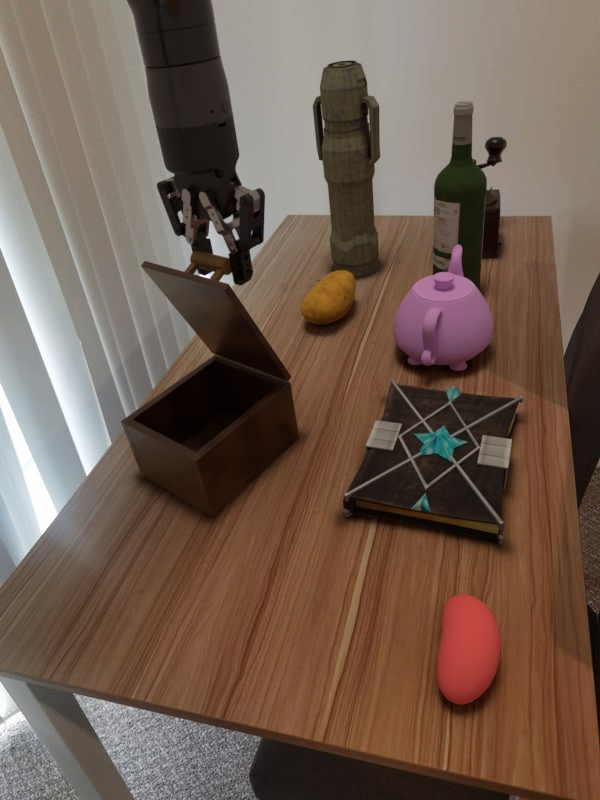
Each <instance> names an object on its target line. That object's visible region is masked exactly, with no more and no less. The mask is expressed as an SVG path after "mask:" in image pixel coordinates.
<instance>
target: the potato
mask: <svg viewBox="0 0 600 800" xmlns="http://www.w3.org/2000/svg"><path fill="white" fill-rule="evenodd" d="M356 291H357V284H356V278H354V276H353V274H352V273H350V272H348V271H346V270H338V271H332V272H329V273H327V274H326V275H325V276H324V277H323V278H322V279H321V280H319V282H317V283H316V284H315V285H314V286H313V287H312V288H311V290H310V291H309V292H308V293H307V294H306V295H305V297H304V299H303V300H302V302H301V305H300V310H299V311H300V313H301V315H302V317H303V318H304V319H305V320H306V321H308V322H310V323H313V324H316V325H328V324H331V323H333V322H336V321H339V320H340V319H342V318H343V317H345V316H346V314H348V313H349V312H350V310H351V308H352V306H353V303H354V300H355V296H356Z"/></svg>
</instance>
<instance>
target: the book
mask: <svg viewBox="0 0 600 800" xmlns="http://www.w3.org/2000/svg"><path fill="white" fill-rule="evenodd" d="M523 402H524V396H522V395H520V396H518V397H506V396H494V395H485V394H483V395H482V394H477V393H476V394H474V393H467V392H461V391H460V389H459V388H457V387H456V386H455V385H452V386H451V387H449V388H447V389H446V390H444V389H436V388H435V389H434V388H427V387H422V386H415V385H409V384H403V383H397V382H395V380H394V379H390V385H389V386H388V392H387V396H386V401H385V404H384V410H383V414H382V417H381V419H380V420H378V419H376V420H375V421H374V424H373V426H372V429H371V431H370V433H369V436H368V439H367V441H366V443H365V455H364V458H363V460H362V463H361V464H360V466H359V468H358V470H357V471H356V473H355V475H354V478H353V479H352V481H351V483H350V485H349V487H348V489H347V491H346V492H345V493H344V494H343V499H342V506H343V509H344V510H343V514H344V517H345V518H346V519H347V518H349V517H350V516H352V515H354V516H361V517H366V518H367V517H368V518H372V519H373V518H374V519H380V520H387V521H392V522H393V521H394V522H399V523H404V524H409V525H410V524H411V525H415V526H419V527H425V528H431V529H435V530H440V531H445V532H450V533H451V532H452V533H457V534H460V535H466V536H470V537H475V538H480V539H484V540H489V541H493V542H497V543H498V544H499V546H501V545H503V544H504V539H505V538H504V536H503V535H502V534H501V530H503V529H504V524H505V522H504V521H503V518H504V516H503V515H504V512H503V511H504V492H506V488H507V483H508V482H507V481H508V475H509V473H508V472H509V467H510V461H511V460H510V459H511V452H512V444H513V439H512V438H511V437H512V434H513V432H514V428H515V425H516V422H517V420H518V419H519V418H520V413H519V412H518V411H517V409H518V406H519V403H520V404H523Z"/></svg>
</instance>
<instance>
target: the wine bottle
mask: <svg viewBox="0 0 600 800" xmlns="http://www.w3.org/2000/svg"><path fill="white" fill-rule="evenodd" d="M474 108H475V106H474V105H473V101H471V100H460V101H458V102H455V103H454V106H453V127H452V140H451V141H452V142H451V155H450V160H449V163H448V164H447V165H446V166H445V167H444V168H442V169H441V170H440V172H439V173H438V174H437V176H436V178H435V180H434V185H433V230H432V231H433V235H432V236H433V237H432V275H435V274H436V273H439V272H448V269H449V265H450V261H451V256H452V251H453V249H454V247H455V246H456V245H461V246H462V270H463V275H464V277H465V278H467V279H469V280H470V281H472V282H473V283H474V285H475V286H476V287H477V288H478V290H479V291H480V287H481V276H482V275H481V273H482V259H483V258H482V246H483V231H484V217H485V202H486V189H487V188H488V187H487V186H488V179H487V176H486V174H485V172H484V171H483V170H482V169H480V168H479V167H478V166H477V165H478V164H477V163H476V164H475V163H474V162H473V159H474V158H473V115H474Z"/></svg>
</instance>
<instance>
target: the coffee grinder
mask: <svg viewBox="0 0 600 800" xmlns="http://www.w3.org/2000/svg"><path fill="white" fill-rule="evenodd" d="M507 145H508V142H507V140H506V138H504V137H503V136H491V137H490V138H488V139H486V141H485V143H484V148H485V149H484V150H485V151H486V152H487V154H488V156H487V159H486V162H485V163H480V164H477V159H476V158H475V159H474V158H473V162H474V163H475V164H476V165H477V166H478V167H479V168H480V169H481V170H482V169H485V168H487V167H490V166H492V167H495V166H496V165H498V164H499V163H502V162H503V159H502V154H503V153H504V150H505V149H506V148H507ZM501 202H502V201H501V192H500V189H499V188H498V189H497V188H495V189H493V186H491V187H490V188H489V189H487V188H486V202H485V217H484V231H483V246H482V259H488V258H489V259H491V258H498V257H499V249H500V246H502V238H500V222H501V209H502V207H501V204H502V203H501Z"/></svg>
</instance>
